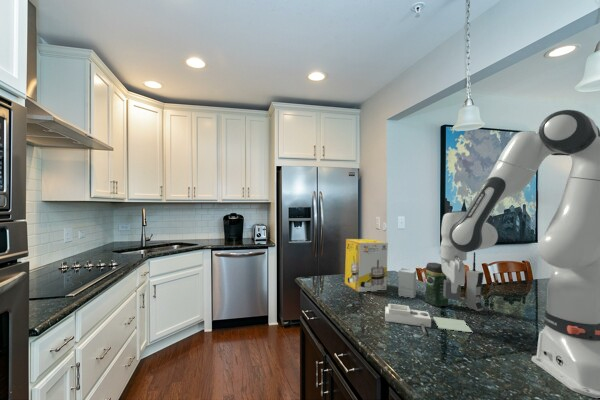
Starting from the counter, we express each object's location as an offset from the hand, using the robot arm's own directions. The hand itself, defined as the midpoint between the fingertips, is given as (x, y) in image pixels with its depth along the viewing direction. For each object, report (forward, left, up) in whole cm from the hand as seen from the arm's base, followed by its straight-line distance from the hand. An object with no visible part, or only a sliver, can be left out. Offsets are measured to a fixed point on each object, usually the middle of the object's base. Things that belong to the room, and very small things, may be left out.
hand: (451, 290), depth 109 cm
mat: (0, 0, -13) cm, 13 cm away
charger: (0, 0, -3) cm, 3 cm away
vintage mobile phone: (+23, -14, -13) cm, 30 cm away
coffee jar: (+25, +1, -13) cm, 28 cm away
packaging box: (+41, +34, -13) cm, 55 cm away
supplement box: (+33, +13, -13) cm, 38 cm away
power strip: (-5, +16, -13) cm, 21 cm away
